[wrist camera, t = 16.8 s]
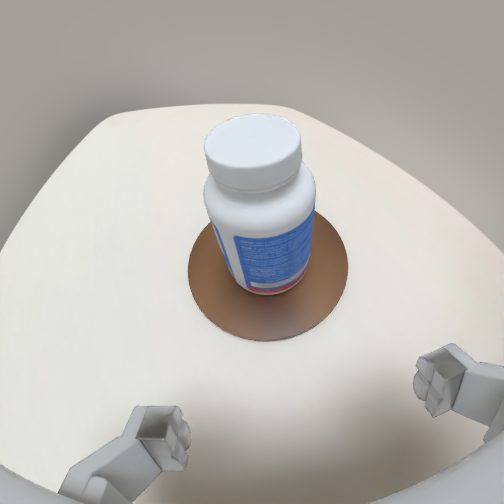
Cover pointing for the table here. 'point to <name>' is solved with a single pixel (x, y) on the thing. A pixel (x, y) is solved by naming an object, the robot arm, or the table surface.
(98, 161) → the table surface
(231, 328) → the coaster
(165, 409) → the robot arm
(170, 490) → the table surface
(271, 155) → the pill bottle
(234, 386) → the table surface
